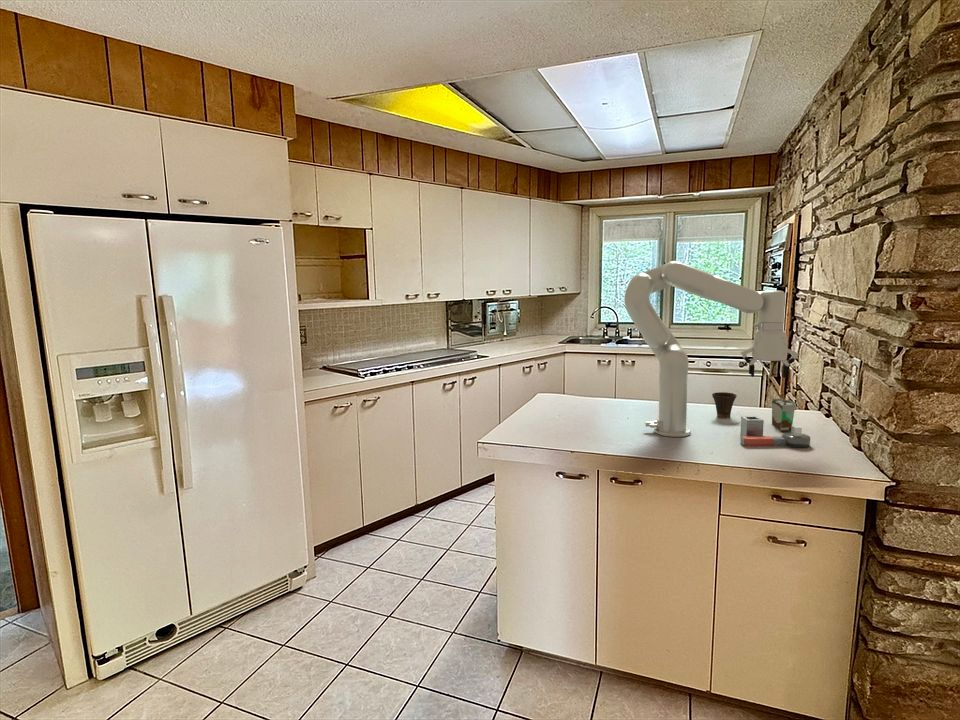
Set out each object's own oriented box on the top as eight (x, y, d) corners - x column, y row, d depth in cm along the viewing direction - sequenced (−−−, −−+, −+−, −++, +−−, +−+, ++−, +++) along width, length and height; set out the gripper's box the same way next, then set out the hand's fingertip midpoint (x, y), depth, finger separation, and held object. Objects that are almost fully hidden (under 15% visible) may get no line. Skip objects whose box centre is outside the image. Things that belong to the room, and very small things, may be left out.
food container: (800, 433, 188) (802, 406, 187) (781, 433, 190) (783, 405, 188) (788, 424, 200) (789, 398, 199) (770, 424, 202) (771, 398, 200)
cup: (728, 420, 206) (726, 394, 206) (708, 418, 214) (706, 393, 214) (743, 417, 210) (741, 392, 210) (723, 416, 218) (721, 391, 218)
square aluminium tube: (746, 440, 184) (747, 420, 183) (740, 435, 189) (741, 416, 188) (762, 439, 183) (763, 420, 182) (756, 435, 188) (757, 416, 187)
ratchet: (746, 448, 175) (747, 430, 174) (737, 441, 183) (738, 423, 182) (814, 448, 173) (815, 429, 172) (802, 441, 180) (803, 423, 180)
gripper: (743, 327, 181) (741, 377, 184) (802, 328, 175) (798, 379, 178) (741, 325, 188) (738, 373, 191) (797, 326, 182) (794, 375, 185)
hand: (767, 376), depth 184 cm, fingers open, 9 cm apart
